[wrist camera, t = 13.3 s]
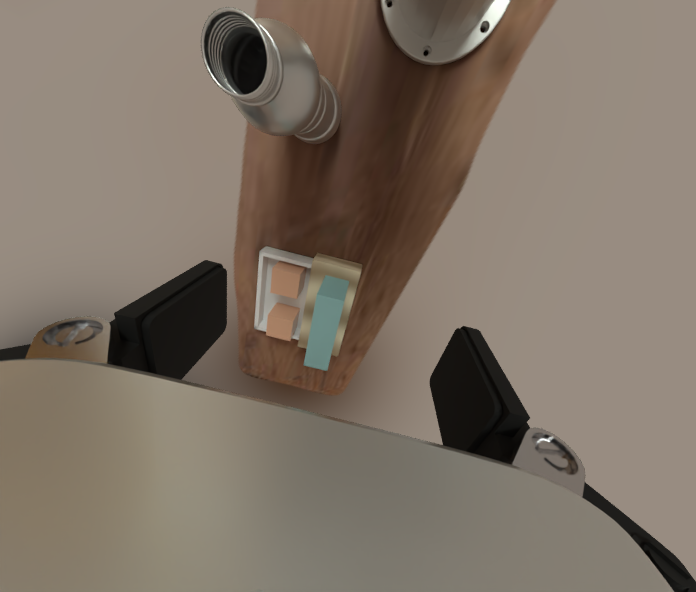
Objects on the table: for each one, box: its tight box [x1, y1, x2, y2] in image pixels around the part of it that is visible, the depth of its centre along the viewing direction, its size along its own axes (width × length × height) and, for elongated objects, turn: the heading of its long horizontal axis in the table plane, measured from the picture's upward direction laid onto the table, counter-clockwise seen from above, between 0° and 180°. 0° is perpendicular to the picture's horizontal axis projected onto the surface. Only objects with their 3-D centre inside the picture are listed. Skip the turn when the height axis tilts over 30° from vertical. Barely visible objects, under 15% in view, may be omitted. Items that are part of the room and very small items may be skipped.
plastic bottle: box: [201, 7, 342, 144], centre depth 22 cm, size 6×7×20 cm
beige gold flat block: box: [298, 253, 362, 357], centre depth 42 cm, size 16×7×3 cm, turn 167°
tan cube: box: [270, 261, 307, 299], centre depth 39 cm, size 4×4×4 cm
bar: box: [304, 275, 349, 371], centre depth 38 cm, size 12×4×6 cm, turn 167°
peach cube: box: [266, 302, 300, 341], centre depth 43 cm, size 4×4×4 cm
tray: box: [254, 246, 314, 340], centre depth 42 cm, size 14×8×2 cm, turn 167°
